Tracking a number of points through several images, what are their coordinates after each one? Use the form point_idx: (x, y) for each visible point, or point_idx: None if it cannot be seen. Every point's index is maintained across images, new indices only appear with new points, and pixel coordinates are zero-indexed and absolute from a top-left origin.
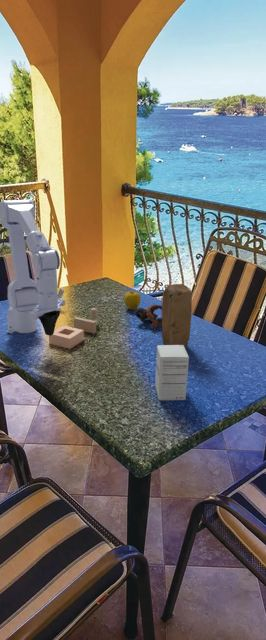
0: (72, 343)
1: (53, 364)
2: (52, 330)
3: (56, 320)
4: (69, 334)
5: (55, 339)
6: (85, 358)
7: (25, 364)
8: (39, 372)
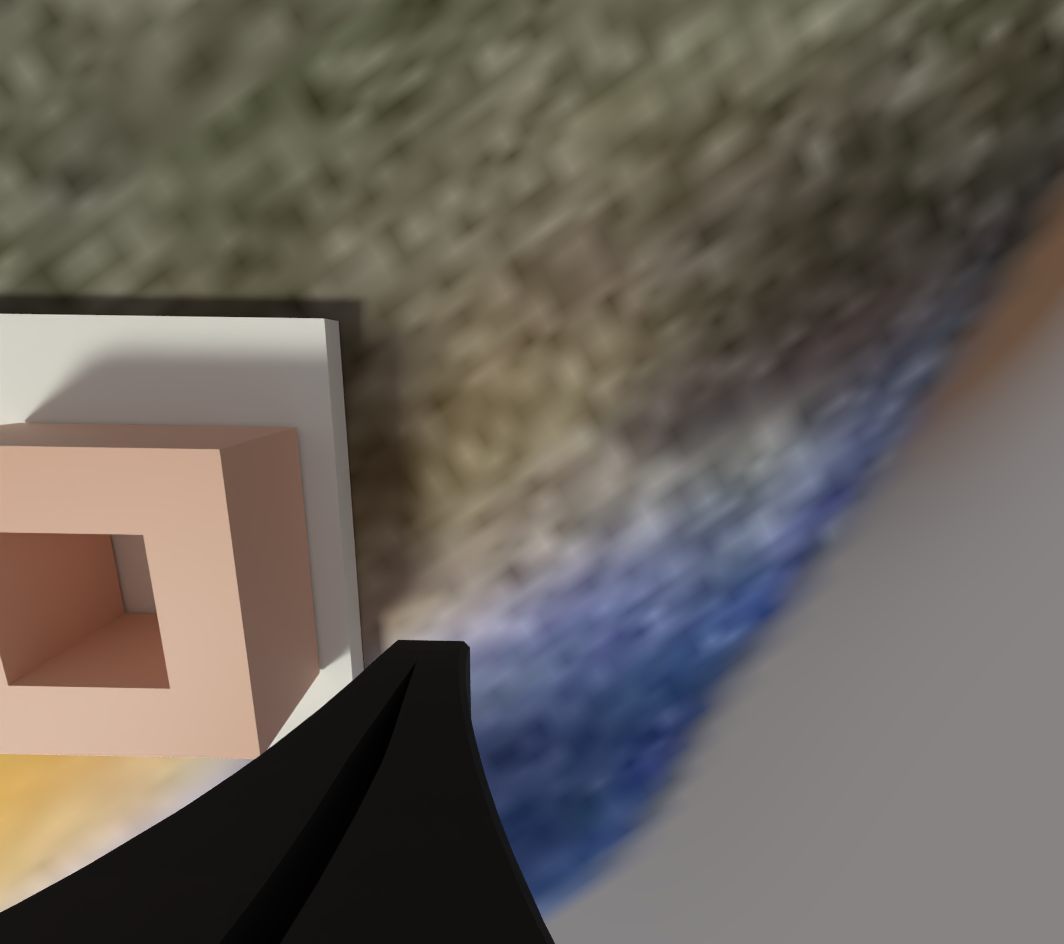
0: (220, 433)
1: (618, 413)
2: (420, 679)
3: (178, 829)
4: (112, 533)
5: (280, 637)
6: (341, 192)
7: (727, 625)
8: (814, 432)
